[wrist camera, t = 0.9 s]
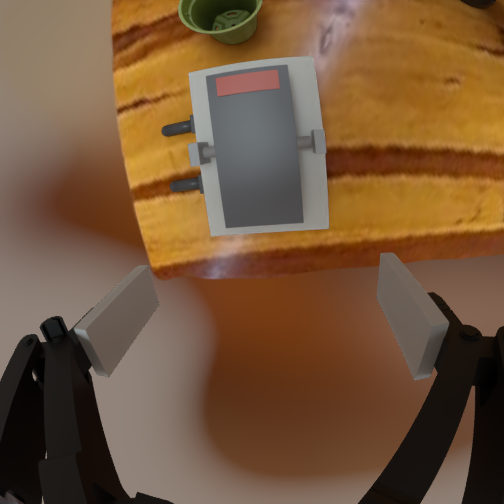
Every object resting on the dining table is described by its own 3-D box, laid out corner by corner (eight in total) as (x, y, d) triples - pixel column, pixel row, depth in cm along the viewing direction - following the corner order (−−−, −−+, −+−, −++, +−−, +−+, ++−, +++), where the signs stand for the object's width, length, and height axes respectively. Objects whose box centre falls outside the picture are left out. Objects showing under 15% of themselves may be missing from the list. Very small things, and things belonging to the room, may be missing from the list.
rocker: (300, 67, 23) (301, 63, 21) (315, 218, 29) (316, 222, 27) (198, 81, 25) (192, 78, 23) (217, 224, 31) (213, 229, 29)
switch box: (309, 68, 30) (315, 45, 21) (323, 215, 37) (333, 240, 28) (159, 92, 33) (122, 83, 24) (179, 226, 40) (149, 251, 31)
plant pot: (197, 10, 27) (174, -15, 19) (262, -4, 26) (254, -35, 18) (205, 61, 31) (182, 43, 23) (274, 47, 29) (269, 23, 21)
